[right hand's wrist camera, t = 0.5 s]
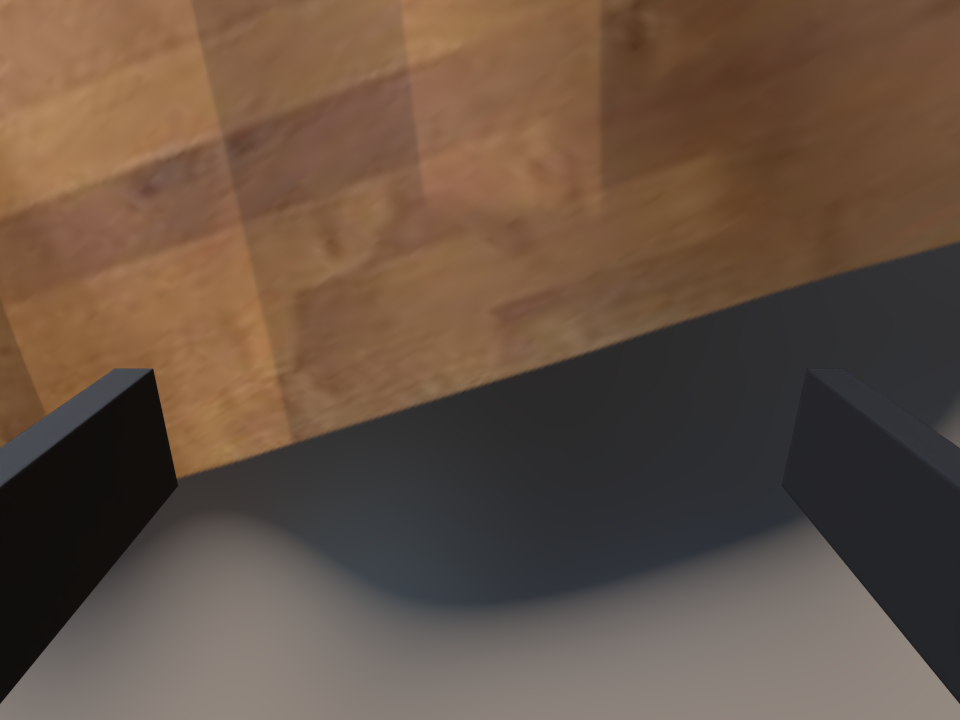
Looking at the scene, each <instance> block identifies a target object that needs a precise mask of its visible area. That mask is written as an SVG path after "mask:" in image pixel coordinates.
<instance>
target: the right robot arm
mask: <svg viewBox="0 0 960 720" xmlns="http://www.w3.org/2000/svg"><path fill="white" fill-rule="evenodd" d="M177 486H178V484H177V479H176V474H175V469H174V465H173V460H172V455H171V451H170V446H169V441H168V436H167V432H166V427H165V422H164V418H163V413H162V408H161V403H160V399H159V394H158V389H157V385H156V380H155V375H154V370H153V369H114V370H112V371H111V372H109V373H108V374H107V375H105V376H104V377H102V378H101V379H99V380H98V381H96V382H95V383H94V384H92V385H91V386H89V387H88V388H86V389H85V390H83V391H82V392H81V393H79V394H78V395H76V396H75V397H73V398H72V399H70V400H69V401H68V402H66V403H65V404H63V405H62V406H60V407H59V408H57V409H56V410H55V411H53V412H52V413H50V414H49V415H47V416H46V417H44V418H43V419H42V420H40V421H39V422H37V423H36V424H34V425H33V426H32V427H30V428H29V429H27V430H26V431H24V432H23V433H21V434H20V435H19V436H17V437H16V438H14V439H13V440H11V441H10V442H8V443H7V444H6V445H4V446H3V447H1V448H0V703H1V702H2V701H3V700H4V698H5V697H6V696H7V695H8V694H9V692H10V691H11V690H12V689H13V688H14V686H15V685H16V684H17V683H18V681H19V680H20V679H21V678H22V677H23V675H24V674H25V673H26V672H27V670H28V669H29V668H30V667H31V665H32V664H33V663H34V662H35V661H36V659H37V658H38V657H39V656H40V654H41V653H42V652H43V651H44V650H45V648H46V647H47V646H48V645H49V643H50V642H51V641H52V640H53V639H54V637H55V636H56V635H57V634H58V632H59V631H60V630H61V629H62V627H63V626H64V625H65V624H66V623H67V621H68V620H69V619H70V618H71V616H72V615H73V614H74V613H75V612H76V610H77V609H78V608H79V607H80V605H81V604H82V603H83V602H84V600H85V599H86V598H87V597H88V596H89V594H90V593H91V592H92V591H93V589H94V588H95V587H96V586H97V585H98V583H99V582H100V581H101V580H102V578H103V577H104V576H105V575H106V574H107V572H108V571H109V570H110V569H111V567H112V566H113V565H114V564H115V563H116V561H117V560H118V559H119V558H120V556H121V555H122V554H123V553H124V552H125V550H126V549H127V548H128V547H129V545H130V544H131V543H132V542H133V540H134V539H135V538H136V537H137V535H138V534H139V533H140V532H141V531H142V529H143V528H144V527H145V526H146V525H147V523H148V522H149V521H150V520H151V518H152V517H153V516H154V515H155V514H156V512H157V511H158V510H159V509H160V507H161V506H162V505H163V504H164V502H165V501H166V500H167V499H168V498H169V496H170V495H171V494H172V493H173V491H174V490H175V489H176V488H177ZM782 487H783V488H784V489H785V490H786V491H787V493H788V494H789V495H790V496H791V498H792V499H793V500H794V501H795V502H796V504H797V505H798V506H799V507H800V509H801V510H802V511H803V512H804V513H805V515H806V516H807V517H808V518H809V520H810V521H811V522H812V523H813V525H814V526H815V527H816V528H817V529H818V531H819V532H820V533H821V534H822V536H823V537H824V538H825V539H826V540H827V542H828V543H829V544H830V545H831V547H832V548H833V549H834V550H835V551H836V553H837V554H838V555H839V556H840V558H841V559H842V560H843V561H844V563H845V564H846V565H847V566H848V567H849V569H850V570H851V571H852V572H853V574H854V575H855V576H856V577H857V578H858V580H859V581H860V582H861V583H862V585H863V586H864V587H865V588H866V590H867V591H868V592H869V593H870V594H871V596H872V597H873V598H874V599H875V600H876V602H877V603H878V604H879V605H880V607H881V608H882V609H883V610H884V612H885V613H886V614H887V615H888V616H889V618H890V619H891V620H892V621H893V623H894V624H895V625H896V626H897V627H898V629H899V630H900V631H901V632H902V634H903V635H904V636H905V637H906V638H907V640H908V641H909V642H910V643H911V645H912V646H913V647H914V648H915V650H916V651H917V652H918V653H919V654H920V656H921V657H922V658H923V659H924V661H925V662H926V663H927V664H928V665H929V667H930V668H931V669H932V670H933V672H934V673H935V674H936V675H937V677H938V678H939V679H940V680H941V681H942V683H943V684H944V685H945V686H946V688H947V689H948V690H949V691H950V692H951V694H952V695H953V696H954V697H955V699H956V700H957V701H958V702H959V703H960V448H959V447H957V446H956V445H954V444H953V443H952V442H950V441H949V440H947V439H946V438H944V437H943V436H941V435H940V434H939V433H937V432H936V431H934V430H933V429H931V428H930V427H928V426H927V425H926V424H924V423H923V422H921V421H920V420H918V419H917V418H915V417H914V416H913V415H911V414H910V413H908V412H907V411H905V410H904V409H903V408H901V407H900V406H898V405H897V404H895V403H894V402H892V401H891V400H890V399H888V398H887V397H885V396H884V395H882V394H881V393H879V392H878V391H877V390H875V389H874V388H872V387H871V386H869V385H868V384H866V383H865V382H863V381H862V380H861V379H859V378H858V377H856V376H855V375H853V374H852V373H851V372H849V371H848V370H846V369H807V370H806V375H805V380H804V385H803V389H802V394H801V399H800V403H799V408H798V413H797V418H796V422H795V427H794V432H793V436H792V441H791V446H790V451H789V455H788V460H787V465H786V469H785V474H784V479H783V484H782Z"/></svg>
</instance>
